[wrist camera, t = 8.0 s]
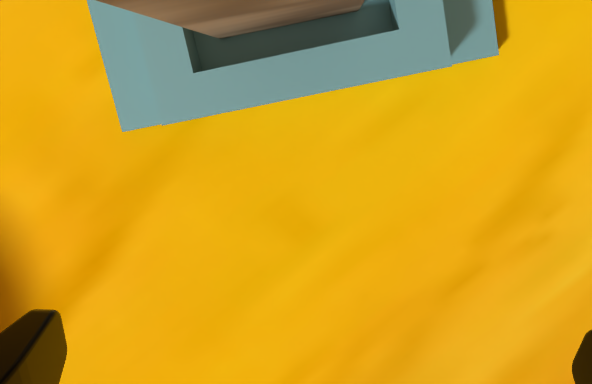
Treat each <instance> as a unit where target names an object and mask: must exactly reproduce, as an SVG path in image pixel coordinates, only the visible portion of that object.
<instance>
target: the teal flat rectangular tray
mask: <svg viewBox="0 0 592 384" xmlns="http://www.w3.org/2000/svg"><path fill="white" fill-rule="evenodd" d="M87 3H88V6H89V10H90V14H91V18H92V21H93V25H94V29H95V32H96V36H97V40H98V43H99V47H100V51H101V55H102V58H103V62H104V66H105V69H106V73H107V77H108V81H109V84H110V88H111V92H112V95H113V99H114V103H115V106H116V110H117V114H118V118H119V121H120V125H121V129H122V132H125V131H130V130H134V129H139V128H144V127H149V126H154V125H159V124H162V125H167V124H172V123H177V122H181V121H186V120H191V119H196V118H201V117H206V116H211V115H216V114H221V113H225V112H230V111H235V110H240V109H245V108H250V107H255V106H260V105H265V104H269V103H274V102H279V101H284V100H289V99H294V98H299V97H304V96H309V95H313V94H318V93H323V92H328V91H333V90H338V89H343V88H348V87H353V86H357V85H362V84H367V83H372V82H377V81H382V80H387V79H392V78H397V77H401V76H406V75H411V74H416V73H421V72H426V71H431V70H436V69H440V68H445V67H450V66H452V64H457V63H462V62H466V61H471V60H476V59H481V58H486V57H491V56H496V55H499V52H498V44H497V36H496V27H495V19H494V11H493V3H492V0H365V1H364V2H363V4H362V6H361V7H360V9H359V10H358V11H356V12H351V13H346V14H341V15H336V16H331V17H326V18H321V19H316V20H311V21H306V22H301V23H296V24H292V25H287V26H282V27H277V28H272V29H267V30H262V31H257V32H252V33H247V34H242V35H237V36H232V37H227V38H222V39H219V38H216V37H213V36H209V35H206V34H203V33H200V32H196V31H193V30H190V29H187V28H183V27H180V26H177V25H174V24H170V23H167V22H164V21H161V20H157V19H154V18H151V17H148V16H145V15H141V14H138V13H135V12H132V11H128V10H125V9H122V8H119V7H115V6H112V5H109V4H106V3H102V2H99V1H96V0H87Z"/></svg>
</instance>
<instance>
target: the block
mask: <svg viewBox="0 0 592 384" xmlns="http://www.w3.org/2000/svg"><path fill="white" fill-rule="evenodd" d="M96 1H99V2H102V3H106V4H109V5H112V6H115V7H119V8H122V9H125V10H128V11H132V12H135V13H138V14H141V15H145V16H148V17H151V18H154V19H157V20H161V21H164V22H167V23H170V24H174V25H177V26H180V27H183V28H187V29H190V30H193V31H196V32H200V33H203V34H206V35H209V36H213V37H216V38H219V39H222V38H227V37H232V36H237V35H242V34H247V33H252V32H257V31H262V30H267V29H272V28H277V27H282V26H287V25H292V24H296V23H301V22H306V21H311V20H316V19H321V18H326V17H331V16H336V15H341V14H346V13H351V12H356V11H358V10H359V9H360V7H361V6H362V4H363V2H364V1H365V0H96Z"/></svg>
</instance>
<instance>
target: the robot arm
mask: <svg viewBox="0 0 592 384" xmlns="http://www.w3.org/2000/svg"><path fill="white" fill-rule="evenodd" d="M66 355H67V344H66V339H65V334H64V329H63V324H62V319H61V316H60V314H59V312H58V311H56V310H43V309H35V310H31V311H29V312H28V313H26V314H25V315H24V316H22V317H21V318H20V319H18V320H17V321H16V322H14V323H13V324H12V325H10V326H9V327H8V328H6V329H5V330H4V331H2V332H1V333H0V384H59V382H60V378H61V375H62V371H63V367H64V364H65V360H66ZM572 374H573V378H574V381H575V384H592V330H590V331H588V332H587V333H586V334H585V336H584V338H583V341H582V343H581V345H580V347H579V349H578V351H577V353H576V356H575V358H574V360H573V364H572Z"/></svg>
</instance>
